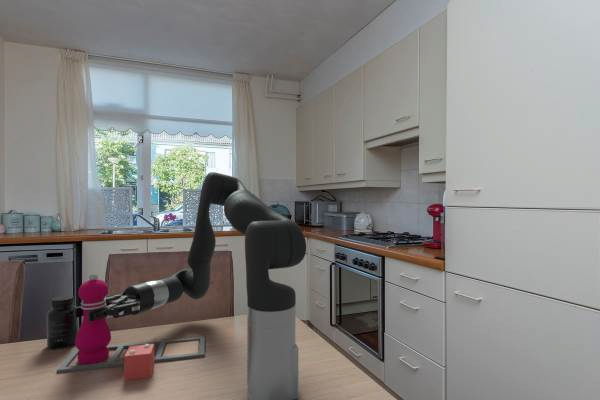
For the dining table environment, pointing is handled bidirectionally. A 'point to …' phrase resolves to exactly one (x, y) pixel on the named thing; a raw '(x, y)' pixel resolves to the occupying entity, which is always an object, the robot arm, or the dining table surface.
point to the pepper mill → (93, 323)
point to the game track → (172, 350)
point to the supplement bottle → (62, 323)
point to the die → (139, 362)
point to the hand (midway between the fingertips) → (82, 314)
